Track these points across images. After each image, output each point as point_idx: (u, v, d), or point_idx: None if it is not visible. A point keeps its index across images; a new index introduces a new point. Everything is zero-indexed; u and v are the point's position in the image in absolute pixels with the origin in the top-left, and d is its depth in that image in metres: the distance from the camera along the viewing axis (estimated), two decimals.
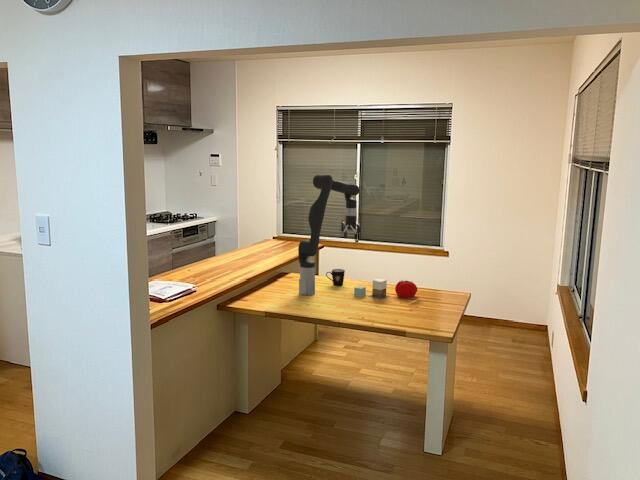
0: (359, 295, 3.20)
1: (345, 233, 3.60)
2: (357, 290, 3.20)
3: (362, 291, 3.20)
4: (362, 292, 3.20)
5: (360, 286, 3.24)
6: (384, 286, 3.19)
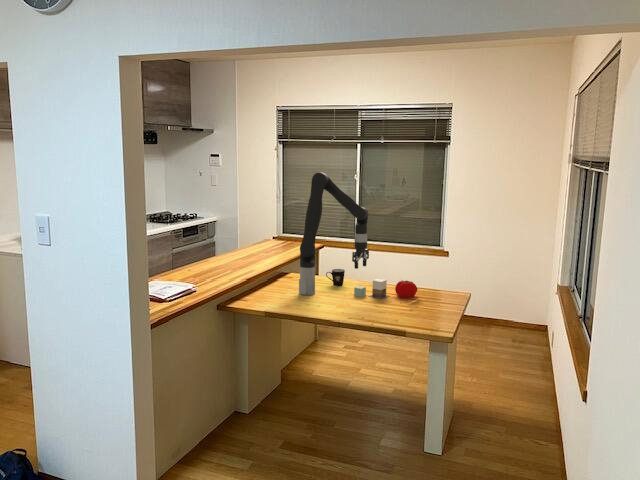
0: (359, 295, 3.20)
1: (357, 263, 3.16)
2: (357, 290, 3.20)
3: (362, 291, 3.20)
4: (362, 292, 3.20)
5: (360, 286, 3.24)
6: (384, 286, 3.19)
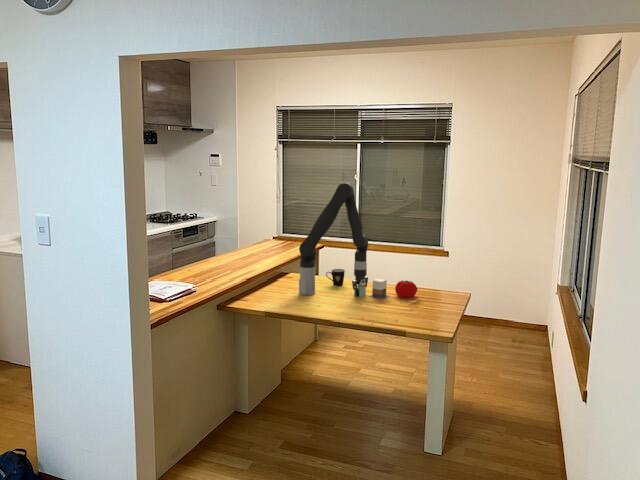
0: (359, 295, 3.20)
1: (358, 291, 3.20)
2: None
3: (362, 291, 3.20)
4: (362, 292, 3.20)
5: None
6: (384, 286, 3.19)
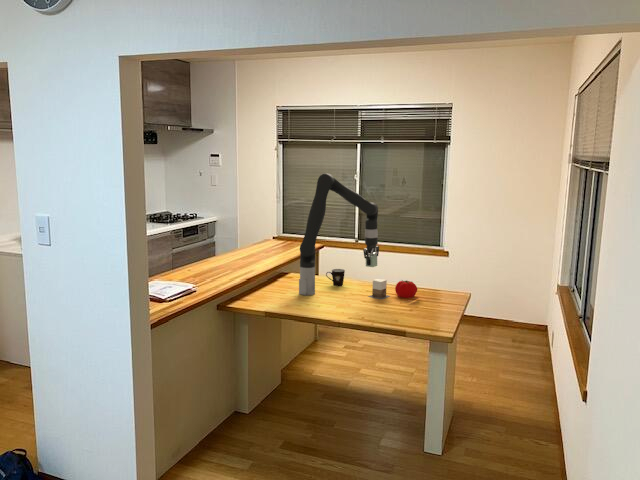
0: (371, 264, 3.16)
1: None
2: None
3: (374, 260, 3.16)
4: (373, 261, 3.16)
5: None
6: (384, 286, 3.19)
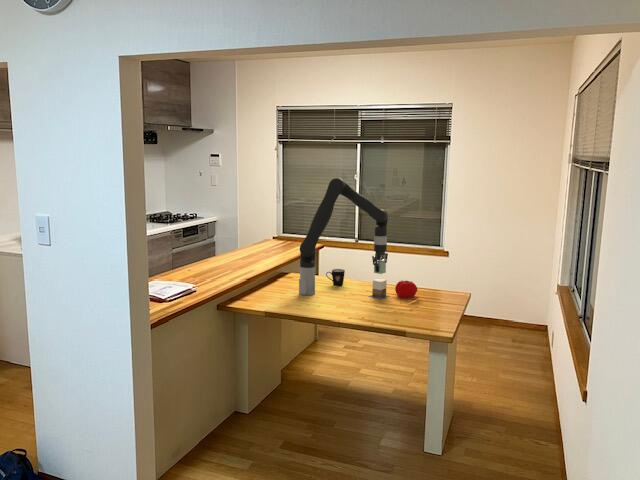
0: (379, 270, 3.16)
1: (378, 266, 3.16)
2: None
3: (382, 266, 3.16)
4: (382, 268, 3.16)
5: (380, 262, 3.20)
6: (384, 286, 3.19)
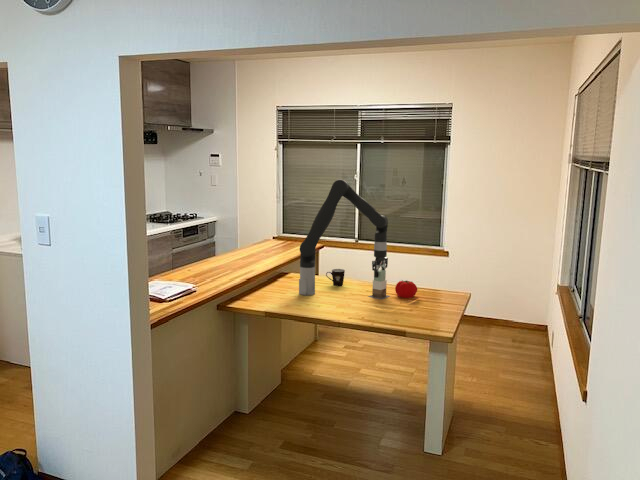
0: (379, 278, 3.16)
1: (377, 272, 3.16)
2: None
3: (382, 274, 3.17)
4: (382, 276, 3.17)
5: None
6: (384, 286, 3.19)
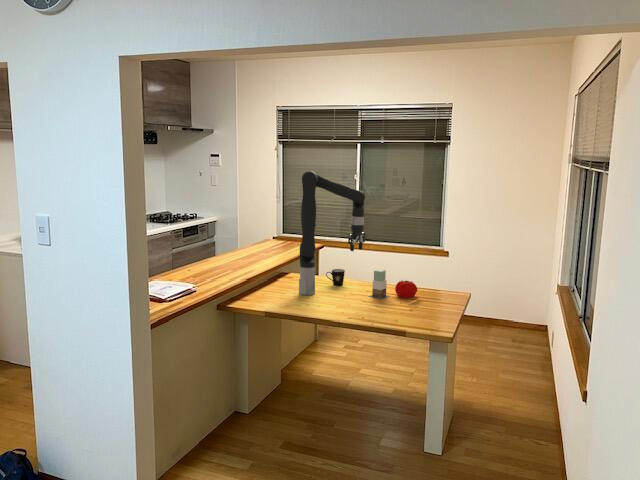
0: (379, 278, 3.16)
1: None
2: (377, 273, 3.17)
3: (382, 274, 3.17)
4: (382, 276, 3.17)
5: None
6: (384, 286, 3.19)
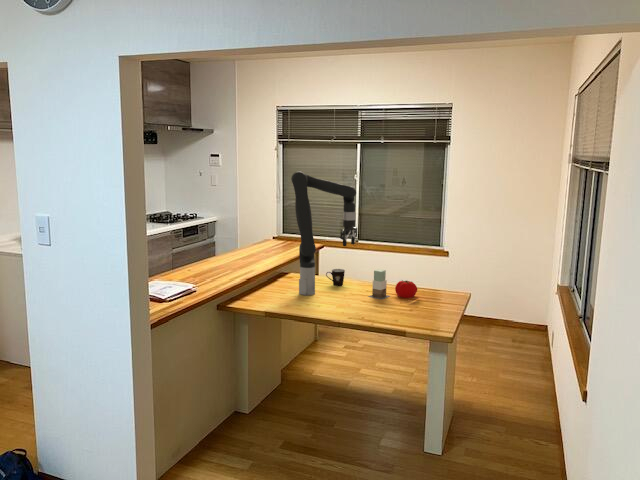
0: (379, 278, 3.16)
1: None
2: (377, 273, 3.17)
3: (382, 274, 3.17)
4: (382, 276, 3.17)
5: None
6: (384, 286, 3.19)
